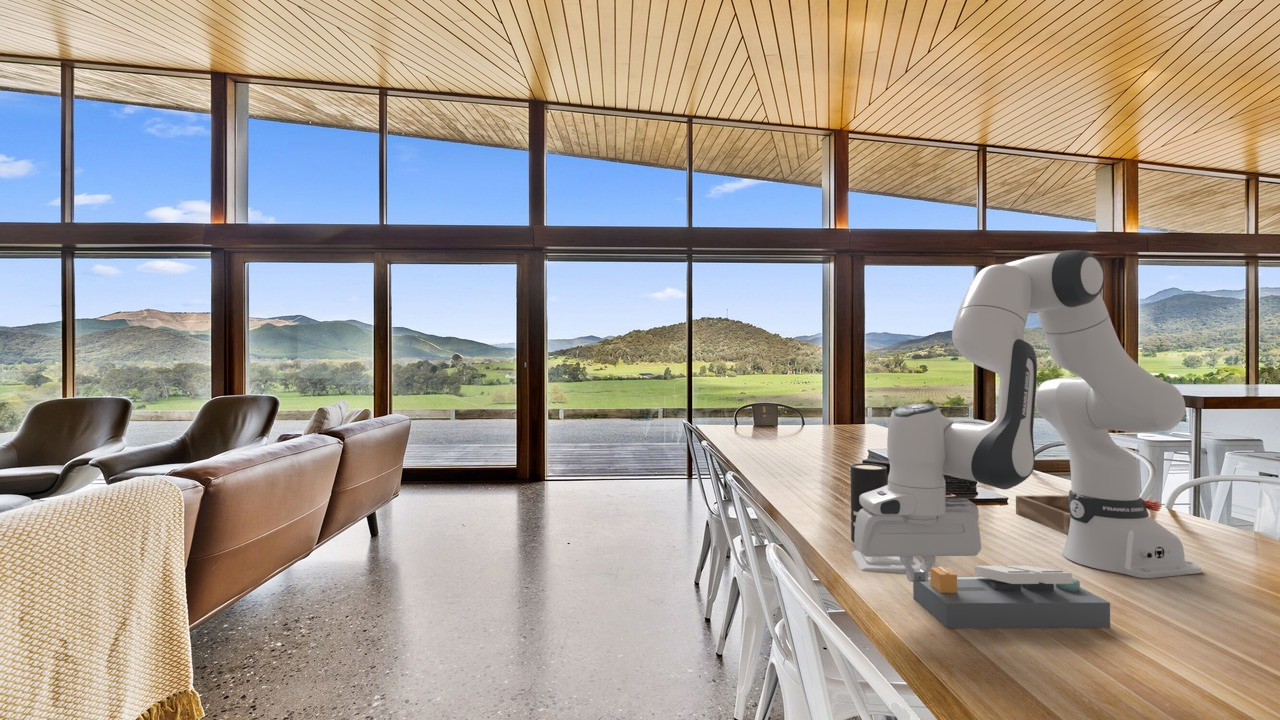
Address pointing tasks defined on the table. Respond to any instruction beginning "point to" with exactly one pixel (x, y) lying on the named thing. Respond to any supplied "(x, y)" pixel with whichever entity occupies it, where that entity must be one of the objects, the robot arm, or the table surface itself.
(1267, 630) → the table surface
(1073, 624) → the panel
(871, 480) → the light fixture
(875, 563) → the light switch
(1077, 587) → the button
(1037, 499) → the frame
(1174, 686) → the table surface
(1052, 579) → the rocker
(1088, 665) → the table surface
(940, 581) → the slider knob
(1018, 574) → the panel
